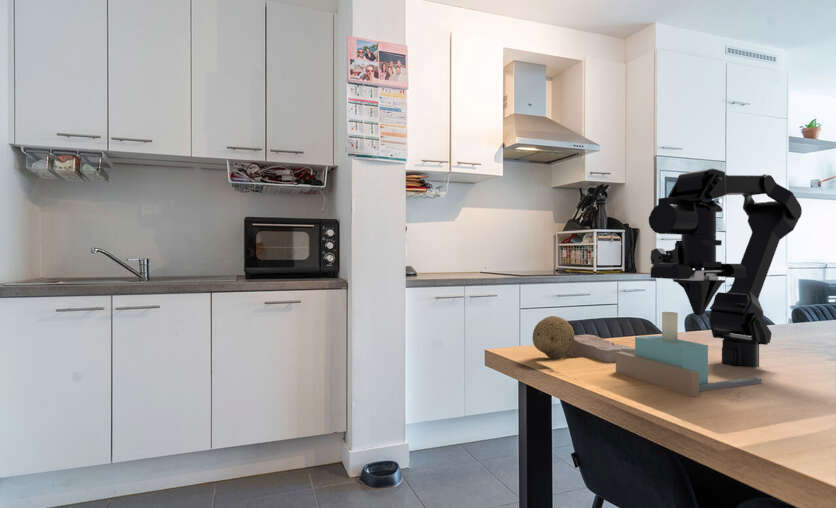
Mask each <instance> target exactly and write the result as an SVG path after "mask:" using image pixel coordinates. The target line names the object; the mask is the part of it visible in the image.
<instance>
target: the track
mask: <svg viewBox="0 0 836 508" xmlns="http://www.w3.org/2000/svg"><path fill="white" fill-rule="evenodd" d="M615 372H616V373H618V374H622V375H624V376H627V377H631V378H634V379H637V380H640V381H643V382H646V383H648V384H649V383H650V384H652V385H655V386H658V387H661V388H663V389H668V390H670V391H673V392H676V393H680V394H683V395H685V396H688V397H693V398H694V397H699V396H700V392H704V391H712V390H713V391H714V390H720V389H728V388H734V387H735V388H736V387H742V386H750V385H757V384H762V382H763V381H762V380H763V379H762V378H759V377H749V378H747V377H746V378H739V379H733V380H732V379H731V380H723V381H715V382H708V383H707V384H699V372H697V371H693V370H689V369H686V368H682V367H678V366H674V365H671V364H667V363H663V362H659V361H656V360H652V359H648V358H644V357H641V356H637V355H633V354H629V353H626V352H616V362H615Z"/></svg>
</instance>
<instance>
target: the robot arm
mask: <svg viewBox="0 0 836 508" xmlns="http://www.w3.org/2000/svg"><path fill="white" fill-rule="evenodd" d="M677 177H678V178H677V179H676V181H675V183H674V185H673V186H672V188H671V190H670V192H669V194H668V196H666V197H660V198H658V200H657V201H658V202H657V203H658V204H657V205H655V206H654V207H653V208H652V210H651V212H650V214H649V216H648V224H649V228H650V229H651V230H652V231H653V232H654V233H656V234H660V235H680V236H681V239H680V240H676V241H675V243H674V249H672V250H665V249H664V248H663V247H662V248H654V249H652V250H651V252H650V261H651V262H650V263H651V265H652V266H651V267H650V278H651V279H664V280H665V279H666V280H672V281H673V283H677V284H678V285H679V286H680V287H682V288H683V290H684V293H685V294H686V297H687V299H688V302H689V304H690V307H691V310H692V312H693V314H694V316H698V317H702V316H703V315H704V313H705V312H706V310H707V309H708V307H709V305H710V303H711V301H712V299H713V298H714V300H713V301H712V304H711V306H710V307H709V310H710V312H709V314H708V322H709V327H710V330H711V334H712V337H713V338H715V339H722V342H721V343H722V346H721V364H722V365H727V366H731V367H742V368H743V367H744V368H755V367H758V368H759V367H760V345H764V346H765V345H768V344H770V343H771V339H772V331H771V329H770V328H769V327H768V325H767V323H766V322H765V321H764V319H763V316H764V311H763V307H762V306H761V303H760V302H761V301H759V298H760V295H761V293H762V289H763V287H764V284H765V282H766V281H765V280H766V278H767V276H768V273H769V270H770V268H771V265H772V262H773V259H774V257H775V255H776V251H777V248H778V245H779V244H780V242H781V240H782V239H783V238H784V237H785V236H787V235H788V234H790V233H791V232H793V231H794V229H795V228H796V225H797V224H798V222H799V220H800V218H801V217H802V213H803V210H802V206H801V204H800V202H799V200H798V199H797V197H796V196H795V194H794V192H792V191H791V190H789V189H787V188H786V187H784V186H782V185H780V184H779V183H777V182H776V180H775V179H774V177H773V176H772V175H770V174H758V175H749V174H748V175H744V174H743V175H739V174H738V175H732V174H731V175H730V174H726V172H725V171H724V170H721V169H716V168H708V169H707V168H706V169H702V170H696V171H691V172H690V171H689V172H685V173H681V174H679V175H678V176H677ZM738 195H739V196H741V195H742V197H743V198H744V199H743V205H742V210H743V211H744V212H745V214H746V216H747V217H748V218H747V224H748V226H749V228H750V231H751V233H750V234H751V235H750V237H749V239H748V242H747V245H746V248H745V250H744V253H743V256H742V258H741V261H740V263H726V262H725V263H724V262H723V263H722V261H717V246H719V247H720V246H722V239H721V240H720V239H717V213H722V212H723V208H722V206H720V205H719V204H718V203H717V202H716V201H715V200H714V199H718V198H722V197H725V196H738ZM758 195H766V196H767V197H768V198H770V199H766V200H758V201H755V200H754V198H753V196H758ZM719 278H734V279H733V282H732V284H731V288H729V290H728V291H726V292H722V291H721V292H717V291H719V289H720V287H721V286H722V284H725V283H726V280H724V279H719Z"/></svg>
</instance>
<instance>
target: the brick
mask: <svg viewBox="0 0 836 508" xmlns="http://www.w3.org/2000/svg"><path fill="white" fill-rule="evenodd" d="M616 352H626V353H629V354H633V355H635V347H630V346H629V345H623V344H619V343H614V342H612V341H611V340H606V339H604V338H602V337H599V336H597V335H593V334H579V335H578V334H576V335H575V334H574V341H573V344H572V346H571V348H570V350H569V351H568V353H567V354H566V356H567V355H568V356H569V357H572V358H576V359H579V358H593V359H595V360H599V361H602V362H605V363H616Z"/></svg>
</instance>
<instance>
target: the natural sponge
mask: <svg viewBox="0 0 836 508" xmlns="http://www.w3.org/2000/svg"><path fill="white" fill-rule="evenodd" d="M574 336H575V331H574V328H573V326H572V325H571V324H570V322H568V320H567V319H565V318H562V317H560V316H555V315H550V316H547V317H544V318H543V319H541V320H539V321H538V323H536V325H535V327H534V329H533V332H532V344H533V345H534V348H536V349H537V351H539V352H541V353H543V354H544V355H545V356H546V357H547V358H548V359H550V360H552V361H557V360H561V359H563V358H564V357H565V356H567V353H568V351H569V350H570V348H571V346H572V344H573V341H574Z"/></svg>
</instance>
